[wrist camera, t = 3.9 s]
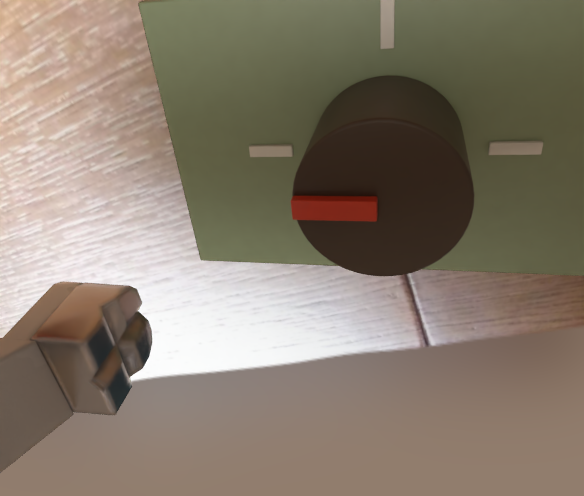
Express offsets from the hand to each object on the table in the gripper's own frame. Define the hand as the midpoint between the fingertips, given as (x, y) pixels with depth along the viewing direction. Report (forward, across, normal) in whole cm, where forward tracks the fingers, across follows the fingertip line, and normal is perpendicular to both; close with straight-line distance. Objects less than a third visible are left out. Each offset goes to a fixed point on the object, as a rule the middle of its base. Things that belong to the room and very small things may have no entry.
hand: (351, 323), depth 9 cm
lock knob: (+8, 0, 0) cm, 8 cm away
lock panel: (+11, 0, 0) cm, 11 cm away
